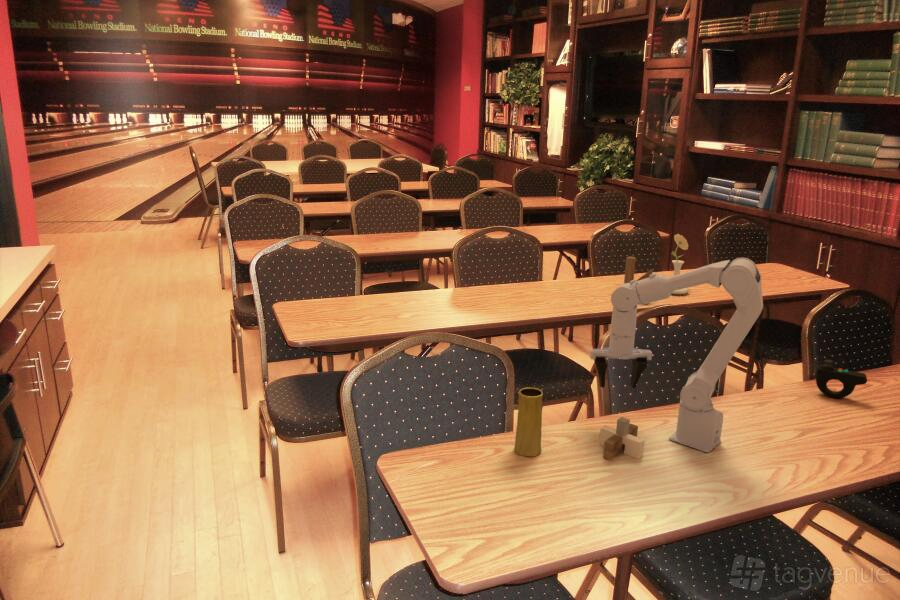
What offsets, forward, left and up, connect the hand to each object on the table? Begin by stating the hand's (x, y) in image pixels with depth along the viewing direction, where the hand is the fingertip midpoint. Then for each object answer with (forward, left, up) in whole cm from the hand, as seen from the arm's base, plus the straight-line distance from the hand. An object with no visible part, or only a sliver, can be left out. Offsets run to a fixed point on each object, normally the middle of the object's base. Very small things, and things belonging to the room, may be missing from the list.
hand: (617, 386), depth 162 cm
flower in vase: (+42, -130, -10) cm, 137 cm away
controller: (-37, -56, -10) cm, 68 cm away
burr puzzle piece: (-8, +12, -9) cm, 17 cm away
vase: (+7, +27, -10) cm, 30 cm away
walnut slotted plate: (-8, +12, -9) cm, 17 cm away
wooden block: (+47, -104, -10) cm, 115 cm away
